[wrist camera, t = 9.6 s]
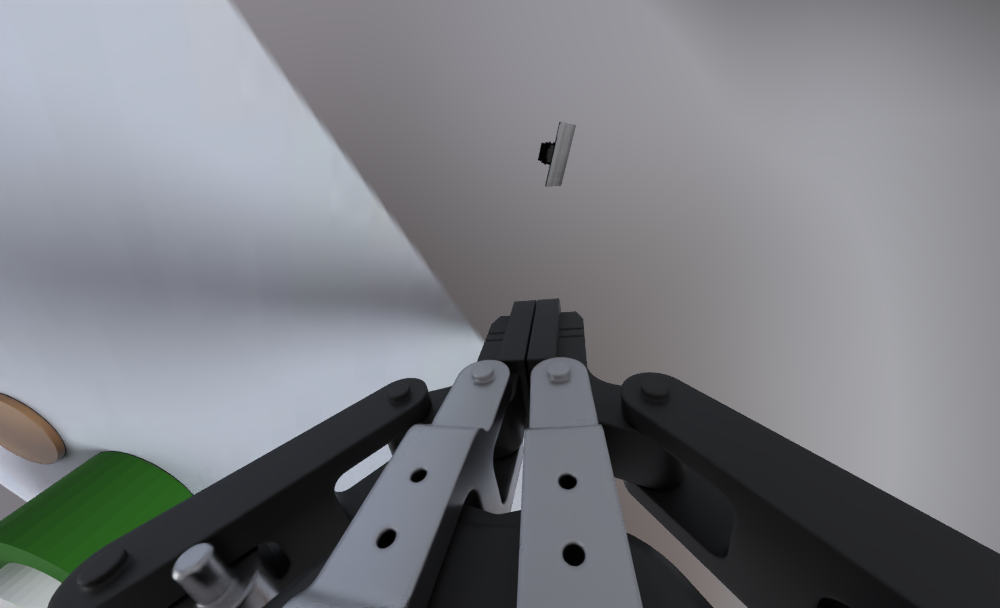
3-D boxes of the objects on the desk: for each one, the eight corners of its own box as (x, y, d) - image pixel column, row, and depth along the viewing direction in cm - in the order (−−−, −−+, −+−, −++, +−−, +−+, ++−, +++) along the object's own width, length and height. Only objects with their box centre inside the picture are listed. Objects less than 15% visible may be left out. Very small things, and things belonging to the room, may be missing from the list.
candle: (68, 461, 24) (-219, 652, 15) (138, 442, 22) (-158, 659, 13) (155, 536, 27) (-43, 733, 18) (227, 527, 24) (35, 752, 16)
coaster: (-44, 392, 23) (-54, 396, 22) (19, 390, 21) (9, 394, 21) (23, 458, 25) (16, 463, 25) (83, 460, 24) (76, 465, 23)
